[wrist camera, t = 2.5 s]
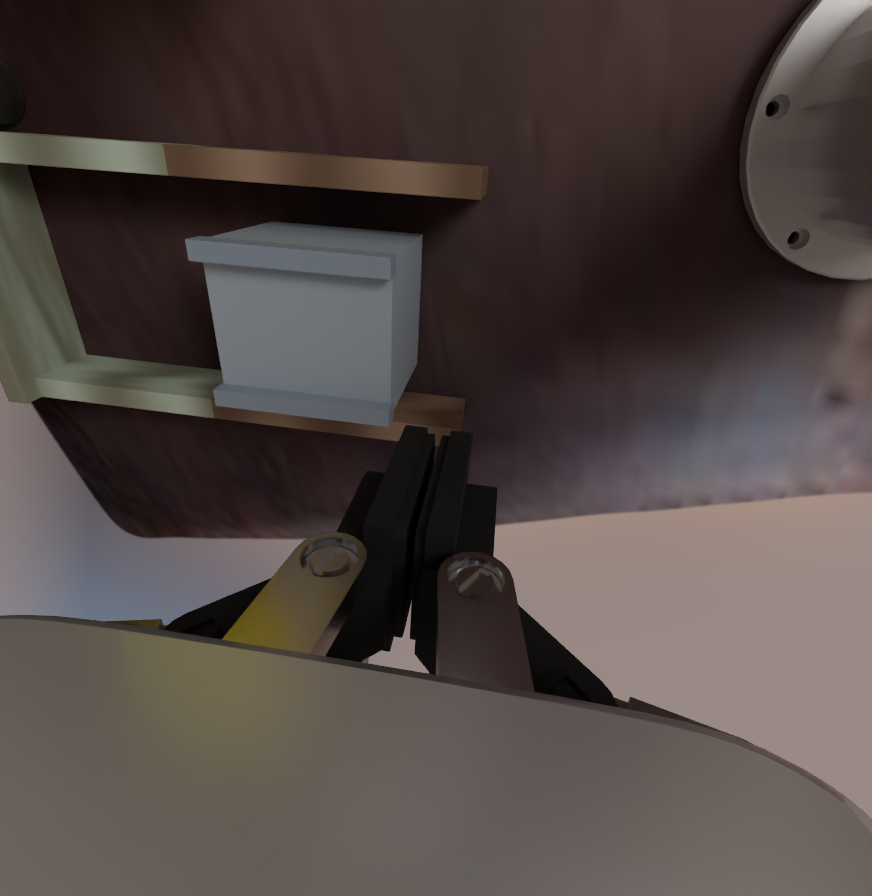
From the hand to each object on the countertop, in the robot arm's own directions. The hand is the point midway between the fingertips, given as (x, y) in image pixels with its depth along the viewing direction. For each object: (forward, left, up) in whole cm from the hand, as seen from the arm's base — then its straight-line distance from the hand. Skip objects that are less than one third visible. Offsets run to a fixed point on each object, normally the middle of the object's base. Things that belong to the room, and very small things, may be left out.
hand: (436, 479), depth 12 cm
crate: (+7, 0, -17) cm, 18 cm away
